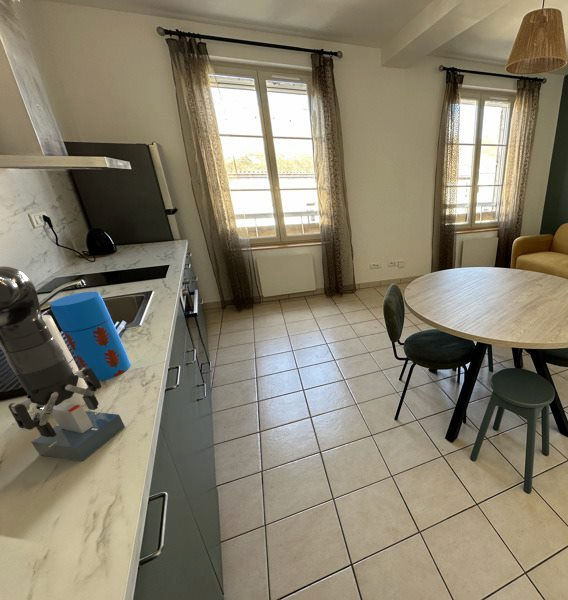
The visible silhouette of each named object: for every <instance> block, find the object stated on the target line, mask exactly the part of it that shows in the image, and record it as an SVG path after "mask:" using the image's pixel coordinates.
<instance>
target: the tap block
mask: <svg viewBox="0 0 568 600" xmlns="http://www.w3.org/2000/svg"><path fill="white" fill-rule="evenodd" d="M102 411H103V410H102V409H100V410H98V411H92V410H90V411H89V410H85V412H86V414H87V416H88V418H89V419H90V421H91V423H92V425H93V427H91V428H90V429H88V430H87V431H85V432H84V433H79V432H74V431H70V430H65V429H60V427H59V425H58V424H56V425H54V426H52V428H53V429H54V431H55V433H56V436H54V437H53V438H52V437H45V436H42V435H41V434H40V435H39V436H38V437H36V438H34V439H33V440H31V442H30V443H31V444H32V446H33V448H34V449H35V450H36V452H37V454H38V455H39V456H43V457H51V458H58V459H64V460H72V461H77V462H84V461H85V460H86V459H88V458H89V457H90V456H91V455H93V454H94V453H95V452H96V451H98V450H99V449H100V448H101V447H103V446H104V445H105V444H107V443H108V442H109V441H110V440H111V439H112V438H114V437H115V436H116V435H117V434H118V433H120V432H121V431H122V430H124V429H125V428H126V426H125V423H124V422H123V420H122V418H121V415H120V414H116V413H109V412H108V413H107V412H102Z"/></svg>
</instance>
